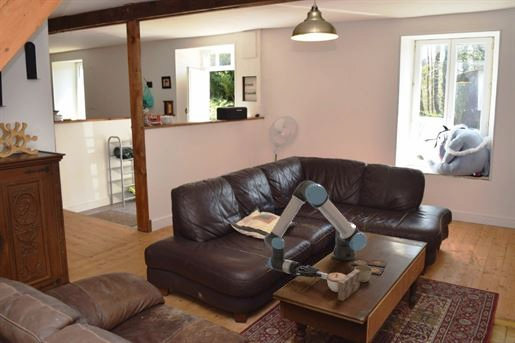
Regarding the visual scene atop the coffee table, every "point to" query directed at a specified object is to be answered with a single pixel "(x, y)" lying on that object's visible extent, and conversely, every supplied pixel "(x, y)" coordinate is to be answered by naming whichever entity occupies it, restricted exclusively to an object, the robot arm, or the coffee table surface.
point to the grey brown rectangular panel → (348, 285)
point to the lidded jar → (334, 280)
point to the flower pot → (364, 272)
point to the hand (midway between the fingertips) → (327, 276)
